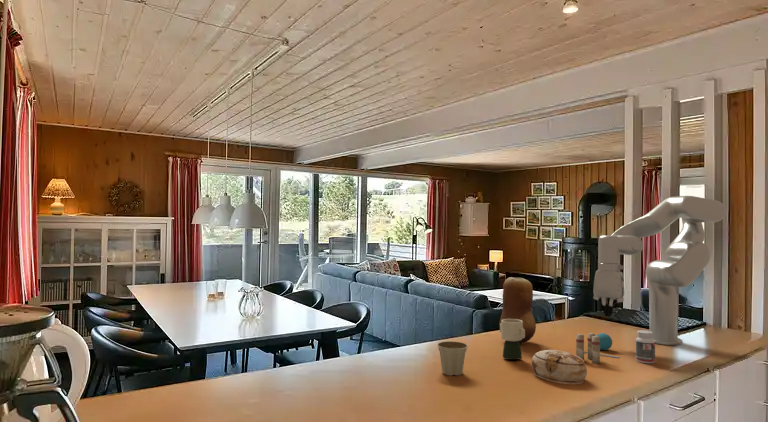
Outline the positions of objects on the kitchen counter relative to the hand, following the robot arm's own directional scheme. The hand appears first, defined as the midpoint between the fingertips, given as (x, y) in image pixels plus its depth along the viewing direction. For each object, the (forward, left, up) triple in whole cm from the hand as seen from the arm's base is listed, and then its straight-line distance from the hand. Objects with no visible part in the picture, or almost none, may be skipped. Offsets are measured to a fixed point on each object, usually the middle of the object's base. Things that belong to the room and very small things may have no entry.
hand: (608, 316), depth 185 cm
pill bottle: (+16, +15, -11) cm, 25 cm away
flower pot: (+67, -29, -11) cm, 74 cm away
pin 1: (+28, -2, -11) cm, 30 cm away
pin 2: (+28, +3, -11) cm, 30 cm away
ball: (+9, 0, -8) cm, 12 cm away
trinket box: (+51, -2, -11) cm, 52 cm away
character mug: (+41, -21, -11) cm, 47 cm away
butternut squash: (+18, -29, -11) cm, 35 cm away
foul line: (+17, 0, -11) cm, 20 cm away
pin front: (+24, 0, -11) cm, 26 cm away
